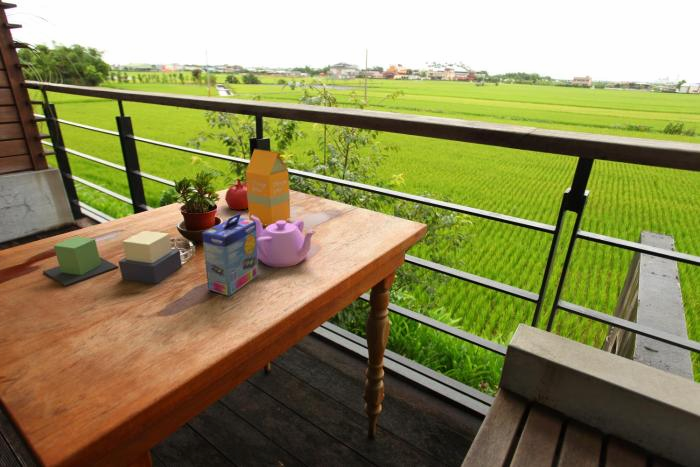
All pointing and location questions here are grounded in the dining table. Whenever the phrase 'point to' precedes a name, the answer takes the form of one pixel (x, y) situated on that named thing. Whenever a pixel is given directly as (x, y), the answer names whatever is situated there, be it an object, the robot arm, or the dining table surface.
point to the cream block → (147, 246)
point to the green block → (77, 255)
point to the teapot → (282, 243)
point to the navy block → (151, 268)
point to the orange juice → (268, 187)
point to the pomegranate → (237, 196)
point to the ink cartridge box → (230, 254)
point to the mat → (71, 279)
